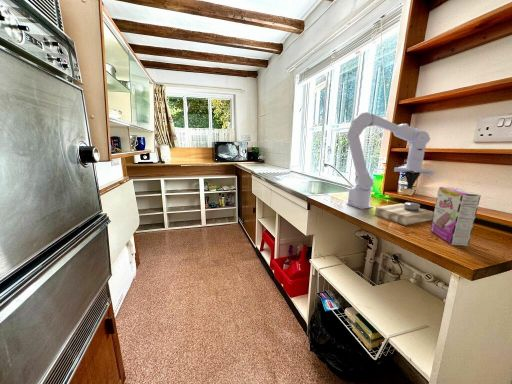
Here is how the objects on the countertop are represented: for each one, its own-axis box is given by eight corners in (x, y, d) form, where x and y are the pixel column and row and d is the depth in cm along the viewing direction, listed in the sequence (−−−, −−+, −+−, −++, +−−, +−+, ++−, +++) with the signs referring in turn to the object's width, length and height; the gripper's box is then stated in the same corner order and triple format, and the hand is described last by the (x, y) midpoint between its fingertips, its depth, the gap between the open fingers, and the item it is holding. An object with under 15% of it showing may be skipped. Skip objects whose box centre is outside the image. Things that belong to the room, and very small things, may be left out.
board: (374, 214, 93) (375, 207, 92) (400, 210, 99) (401, 203, 98) (405, 225, 81) (406, 216, 80) (431, 219, 87) (433, 211, 87)
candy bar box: (428, 231, 76) (438, 186, 72) (444, 232, 75) (455, 187, 71) (449, 245, 65) (462, 193, 61) (469, 247, 64) (482, 194, 60)
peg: (399, 215, 91) (401, 202, 90) (408, 214, 93) (410, 201, 91) (411, 219, 86) (414, 206, 85) (420, 218, 88) (423, 205, 87)
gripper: (394, 158, 97) (389, 187, 100) (435, 160, 88) (428, 192, 91) (397, 157, 102) (393, 185, 105) (436, 159, 93) (430, 189, 96)
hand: (409, 188), depth 98 cm, fingers closed
